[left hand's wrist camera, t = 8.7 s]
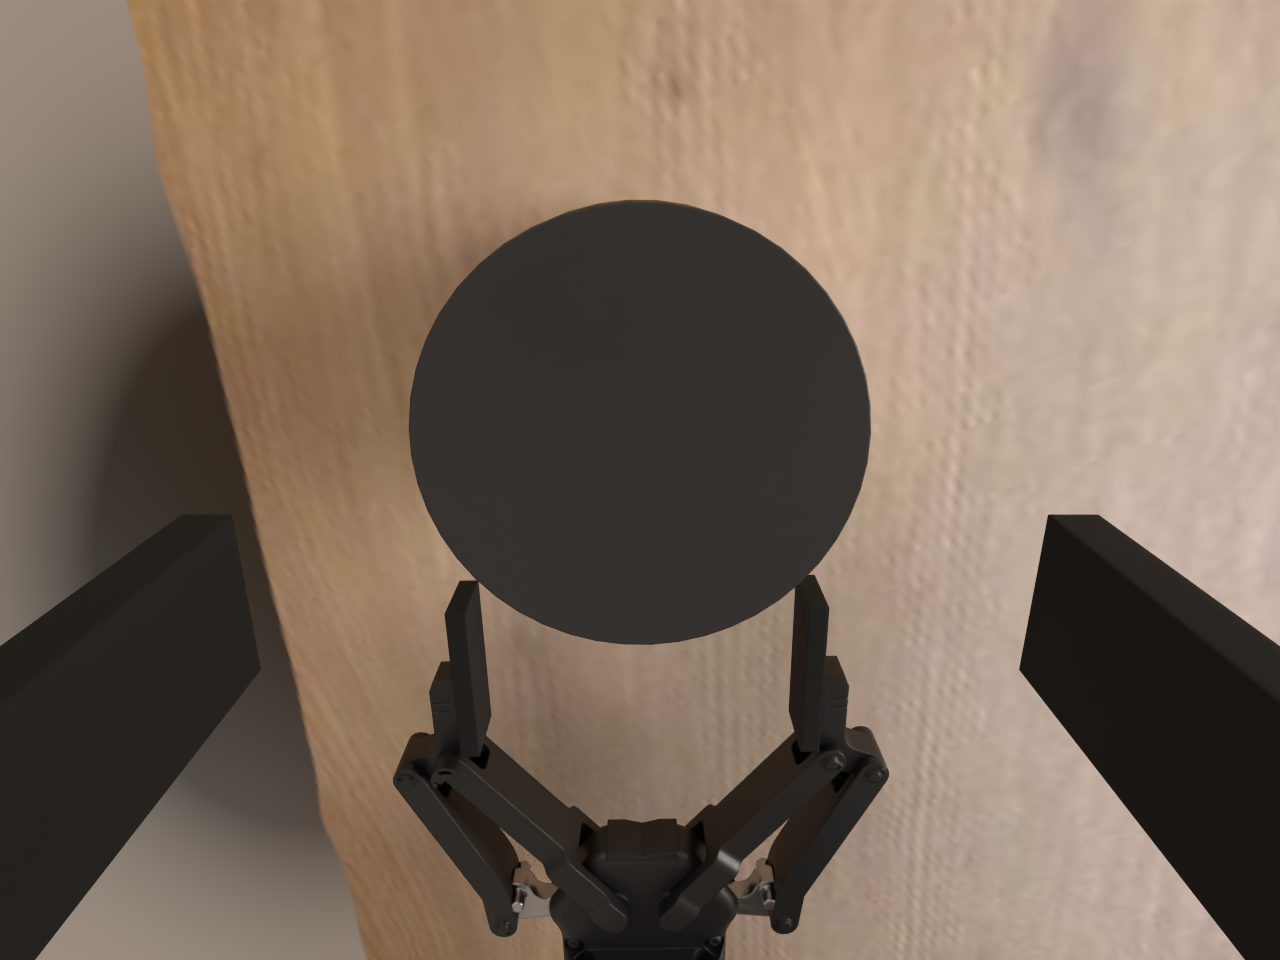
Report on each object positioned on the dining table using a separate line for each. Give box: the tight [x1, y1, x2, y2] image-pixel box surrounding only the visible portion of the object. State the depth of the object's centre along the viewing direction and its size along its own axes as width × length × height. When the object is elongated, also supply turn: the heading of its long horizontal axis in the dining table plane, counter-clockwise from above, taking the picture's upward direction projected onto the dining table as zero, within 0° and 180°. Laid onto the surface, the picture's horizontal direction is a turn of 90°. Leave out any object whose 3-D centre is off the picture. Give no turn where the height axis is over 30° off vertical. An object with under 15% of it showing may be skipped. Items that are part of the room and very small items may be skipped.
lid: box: [409, 200, 871, 645], centre depth 21 cm, size 11×11×2 cm
